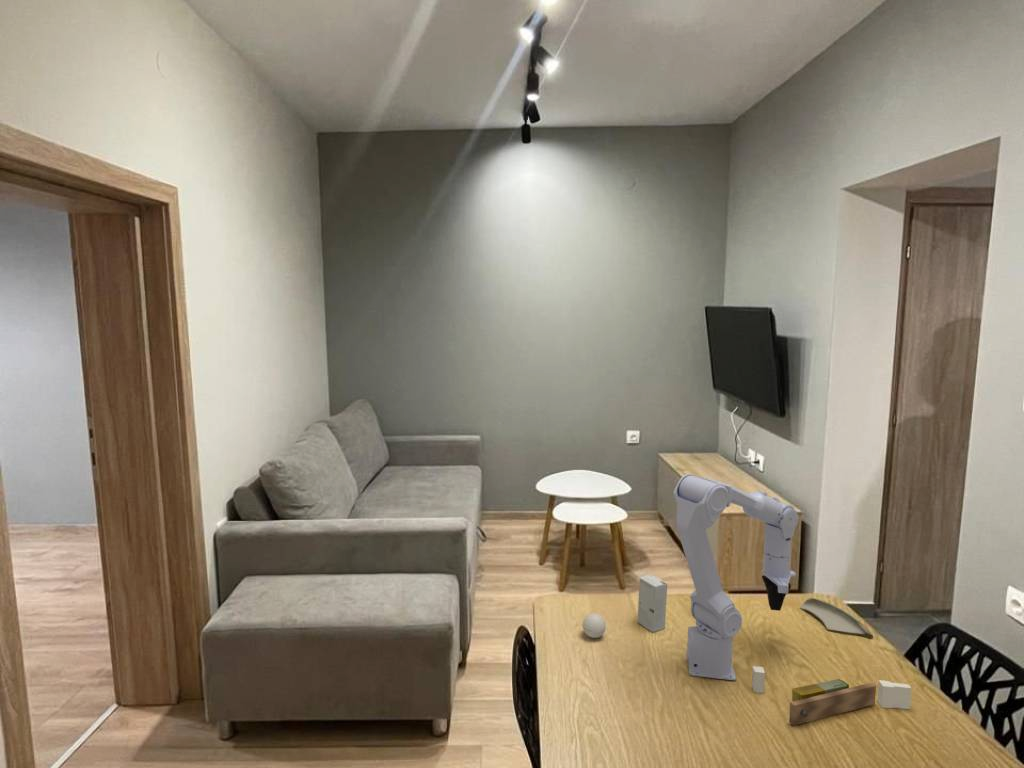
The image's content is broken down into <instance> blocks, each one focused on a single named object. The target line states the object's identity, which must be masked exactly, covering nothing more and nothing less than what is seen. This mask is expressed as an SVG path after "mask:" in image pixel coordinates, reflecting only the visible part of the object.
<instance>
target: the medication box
mask: <svg viewBox="0 0 1024 768" xmlns="http://www.w3.org/2000/svg"><path fill="white" fill-rule="evenodd" d="M847 688H850V685H849V683H847V682H846V681H844V680H842V679H839V678H837V679H833V680H827V681H824V682H819V683H813V684H809V685H804V686H799V687H794V688H791V692H792V693H791V696H792V697H791V699H792V700H791V702H793V701H798V700H802V699H806V698H810V697H814V696H818V695H822V694H827V693H831V692H835V691H839V690H843V689H847Z"/></svg>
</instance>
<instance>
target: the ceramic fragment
mask: <svg viewBox="0 0 1024 768" xmlns="http://www.w3.org/2000/svg"><path fill="white" fill-rule="evenodd" d="M799 609H800V610H802V611H803V612H805V613H808V614H810V615H812V616H813V617H815V618H816V619H818V620H819V621H820V622H821V623H822V624H823V626H824V627H825V629H826V631H827V632H833V633H838V634H842V635H843V634H844V635H853V636H860V637H863V638H864V637H865V638H869V639H874V635H873V633H872V632H871V631H870V630H869V628H867V627H866V625H864V624H863V623H862V622H861V620H859V619H858V618H856V617H855V616H854V615H852V614H851V613H849V612H848V611H846V610H844V609H842V608H841V607H839V606H837V605H834V604H833V603H830V602H828V601H825V600H822V599H820V598H819V599H818V598H814V597H809V598H807V599H806V600H805V601H804V603H802V605H801V606H800V607H799Z"/></svg>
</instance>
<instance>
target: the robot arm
mask: <svg viewBox="0 0 1024 768" xmlns="http://www.w3.org/2000/svg"><path fill="white" fill-rule="evenodd" d="M672 495H673V497H674V500H675V504H676V524H675V525H676V529H677V532H678V533H677V534H678V537H679V539H680V543H681V546H682V549H683V552H684V555H685V558H686V562H687V566H688V569H689V572H690V576H691V579H692V582H693V585H694V588H695V589H694V591H692V593H691V594H690V595H689V598H690V602H691V603H690V614H691V617H693V619H695V625H694V626H688V627H687V628H688V629H687V646H686V647H687V649H686V661H687V667H688V671H689V675H690V676H694V677H701V678H710V679H720V680H726V681H727V680H728V681H736V680H737V676H736V674H735V669H734V665H733V662H732V661H733V638H734V637H736V635H737V634H738V633H739V632H740V630H741V628H742V624H743V617H742V614H741V612H740V611H739V610H738V609H736V605H735V603H734V601H733V600H732V599H731V598H730V597H729V596H728V594H727V593H726V592H725V591H724V589H723V586H722V581H721V578H720V575H719V572H718V568H717V565H716V562H715V558H714V554H713V550H712V547H711V544H710V541H709V538H708V533H707V530H706V529H709V528H712V527H713V525H714V524H715V523H716V521H717V520H718V519H719V518H720V516H721V515H722V514H723V512H725V510H726V508H730V507H731V504H733V505H736V506H739V507H741V508H742V511H743V513H744V514H745V515H746V516H748V517H750V518H753V519H755V520H757V521H759V522H761V523H763V524H764V542H763V563H762V564H763V565H762V569H761V572H762V576H761V579H762V580H763V583H764V585H765V590H766V594H767V601H768V606H769V609H770V610H771V611H779V612H780V611H781V610H782V607H783V604H784V600H785V598H786V595H787V594H789V591H790V590H791V587H792V584H791V583H790V581H791V578H796V576H797V575H796V574H797V573H796V572H795V571H794V570H791V561H792V559H791V558H792V542H793V540H792V538H794V536H795V532H796V531H795V530H796V528H797V525H798V523H799V520H800V516H799V515H798V512H797V510H796V509H795V508H794V506H792V505H789V504H787V503H783V502H781V500H780V499H779V498H777V497H770V496H768V493H767V492H765V491H763V490H758V491H750V492H749V493H747V492H745V491H743V490H741V489H740V488H737V487H736V486H735V487H734V486H733V485H731V484H728V483H725V482H722V481H719V480H715V479H711V478H708V477H704V476H696V475H694V474H692V473H687V474H684V475H682V477H680V479H678V482H677V483H676V485H675V488H674V490H673V494H672Z"/></svg>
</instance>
